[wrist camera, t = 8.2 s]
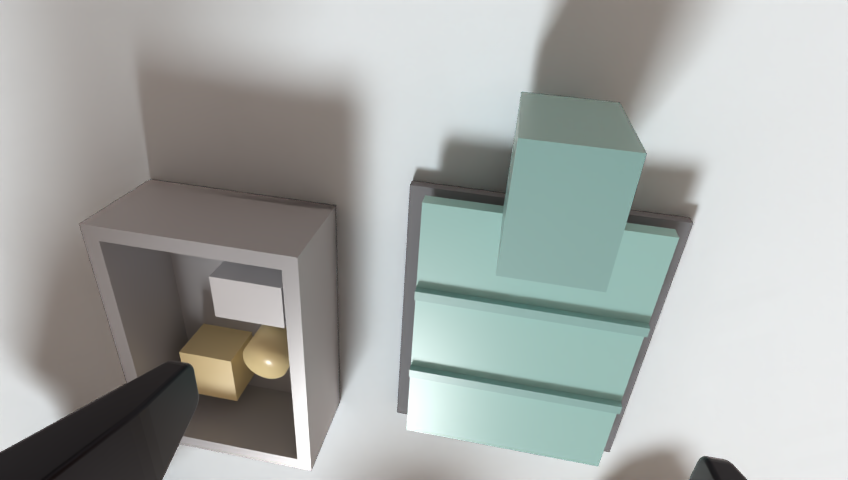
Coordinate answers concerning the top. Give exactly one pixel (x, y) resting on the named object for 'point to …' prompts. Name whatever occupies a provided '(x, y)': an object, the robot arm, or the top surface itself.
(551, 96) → the lid
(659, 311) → the mat
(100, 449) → the robot arm
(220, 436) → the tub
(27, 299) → the top surface
